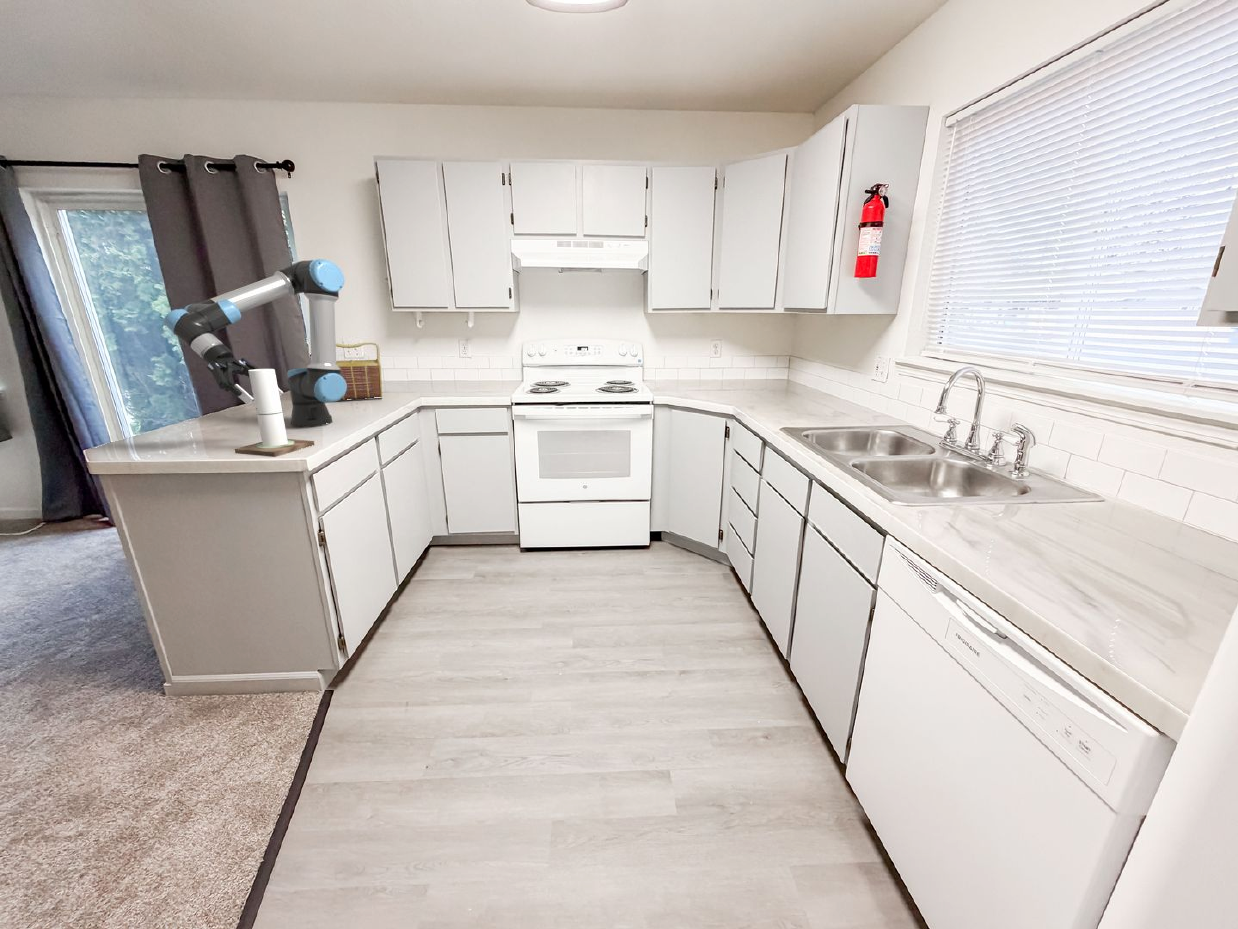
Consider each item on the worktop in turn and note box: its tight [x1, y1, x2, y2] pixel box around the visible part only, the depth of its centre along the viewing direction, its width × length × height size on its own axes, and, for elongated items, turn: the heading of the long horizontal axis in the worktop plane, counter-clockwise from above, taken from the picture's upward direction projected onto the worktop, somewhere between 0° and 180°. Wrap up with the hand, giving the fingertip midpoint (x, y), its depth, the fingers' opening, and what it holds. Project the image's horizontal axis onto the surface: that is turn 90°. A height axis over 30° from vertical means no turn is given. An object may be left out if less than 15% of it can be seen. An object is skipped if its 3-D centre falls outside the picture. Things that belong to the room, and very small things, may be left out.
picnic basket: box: [336, 342, 383, 401], centre depth 270 cm, size 29×26×30 cm
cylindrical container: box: [248, 368, 288, 446], centre depth 167 cm, size 7×7×25 cm
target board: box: [234, 438, 315, 458], centre depth 171 cm, size 16×16×2 cm
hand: (266, 398), depth 166 cm, fingers open, 13 cm apart
